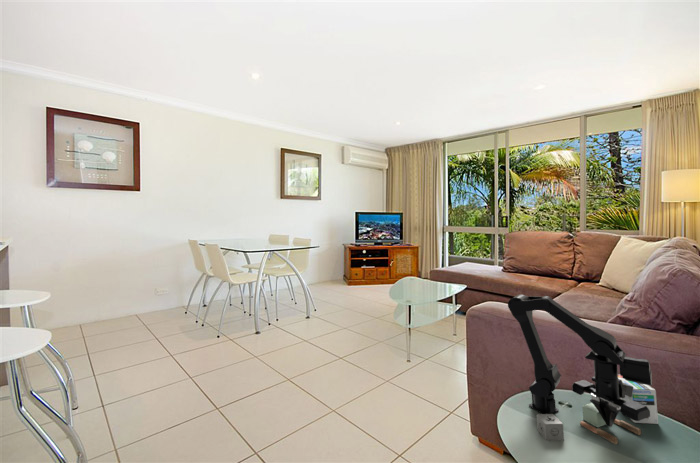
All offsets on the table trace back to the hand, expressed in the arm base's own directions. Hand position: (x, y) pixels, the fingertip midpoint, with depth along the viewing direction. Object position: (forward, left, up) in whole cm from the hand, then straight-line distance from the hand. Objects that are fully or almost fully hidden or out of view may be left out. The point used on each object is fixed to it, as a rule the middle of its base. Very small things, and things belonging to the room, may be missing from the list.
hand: (609, 426), depth 97 cm
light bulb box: (-2, +15, -1) cm, 15 cm away
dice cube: (-5, -18, -1) cm, 19 cm away
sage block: (-4, 0, -1) cm, 4 cm away
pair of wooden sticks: (0, 0, -1) cm, 1 cm away
